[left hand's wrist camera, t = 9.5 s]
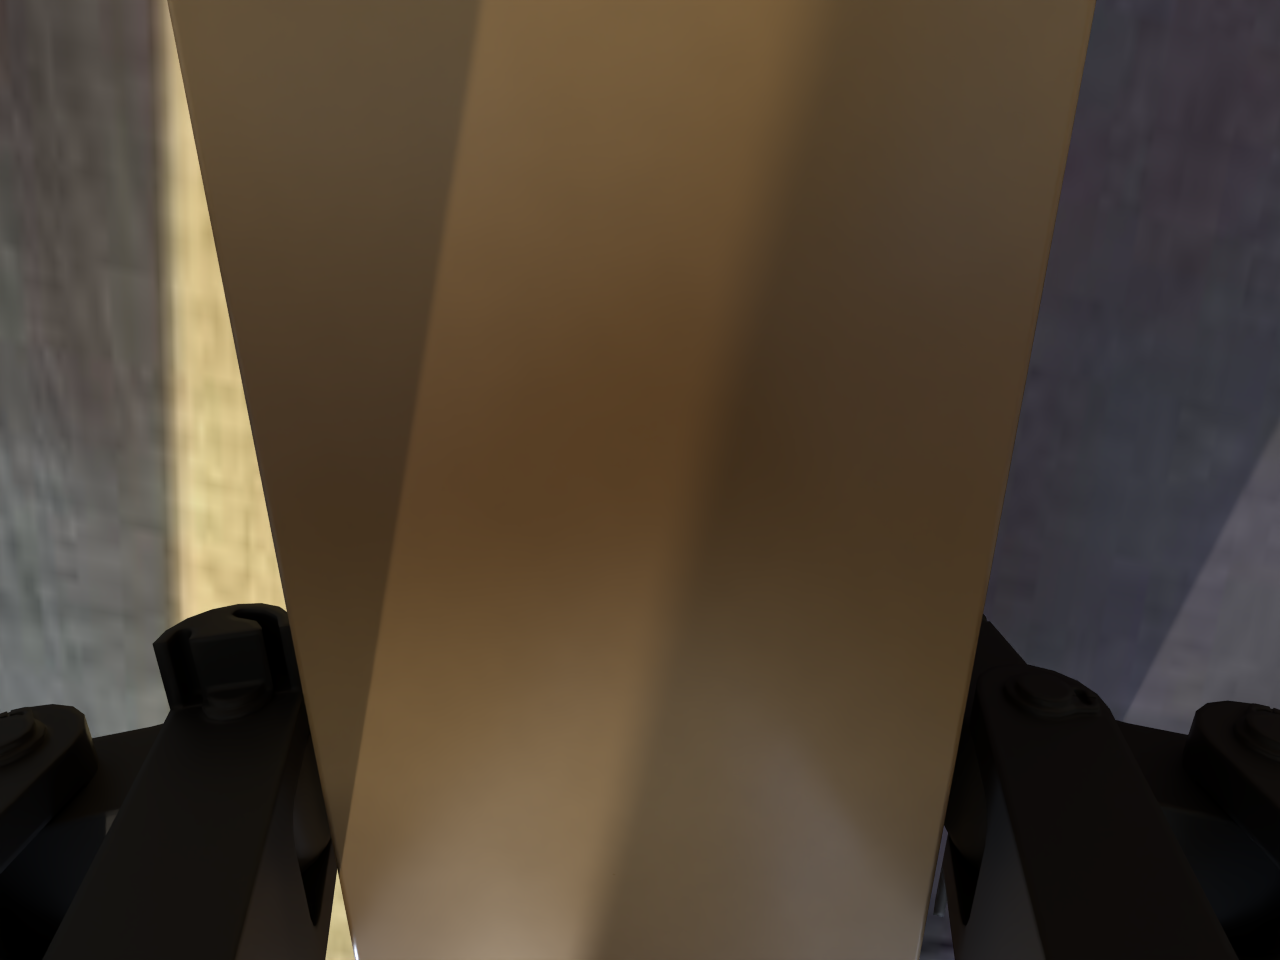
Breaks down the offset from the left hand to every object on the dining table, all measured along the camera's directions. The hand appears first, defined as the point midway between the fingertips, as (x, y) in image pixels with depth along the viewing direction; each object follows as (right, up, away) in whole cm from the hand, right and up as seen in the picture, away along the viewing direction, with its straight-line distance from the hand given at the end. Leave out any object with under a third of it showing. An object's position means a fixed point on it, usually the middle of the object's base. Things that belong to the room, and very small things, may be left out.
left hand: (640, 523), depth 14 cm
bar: (0, +10, -3) cm, 10 cm away
